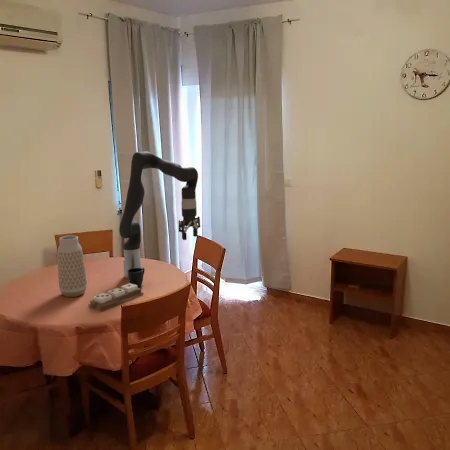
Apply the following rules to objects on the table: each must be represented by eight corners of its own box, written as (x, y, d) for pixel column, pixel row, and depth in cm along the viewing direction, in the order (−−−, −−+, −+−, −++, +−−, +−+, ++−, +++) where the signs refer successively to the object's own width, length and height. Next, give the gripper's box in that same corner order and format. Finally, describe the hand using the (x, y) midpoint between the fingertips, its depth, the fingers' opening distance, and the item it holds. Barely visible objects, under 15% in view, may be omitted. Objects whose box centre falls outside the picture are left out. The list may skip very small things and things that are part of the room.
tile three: (93, 301, 205) (93, 296, 205) (103, 297, 210) (103, 292, 209) (101, 304, 202) (101, 298, 201) (111, 300, 207) (111, 295, 206)
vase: (61, 300, 214) (55, 242, 207) (58, 292, 226) (52, 236, 219) (89, 295, 220) (84, 238, 213) (85, 287, 232) (80, 233, 225)
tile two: (107, 296, 212) (107, 291, 211) (117, 292, 217) (116, 287, 216) (115, 298, 209) (115, 293, 208) (125, 294, 213) (124, 289, 213)
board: (88, 306, 206) (88, 300, 205) (129, 290, 227) (128, 285, 226) (102, 311, 200) (102, 305, 199) (143, 294, 220) (143, 289, 220)
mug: (150, 283, 237) (149, 266, 236) (138, 290, 227) (137, 273, 225) (138, 281, 241) (137, 265, 239) (125, 288, 230) (124, 271, 228)
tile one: (121, 291, 219) (120, 286, 218) (129, 287, 223) (129, 282, 223) (129, 293, 215) (128, 288, 215) (137, 289, 220) (137, 285, 219)
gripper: (192, 204, 222) (193, 234, 225) (173, 208, 210) (175, 240, 214) (203, 205, 217) (204, 236, 221) (185, 209, 206) (186, 242, 209)
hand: (189, 238), depth 217 cm, fingers open, 8 cm apart
